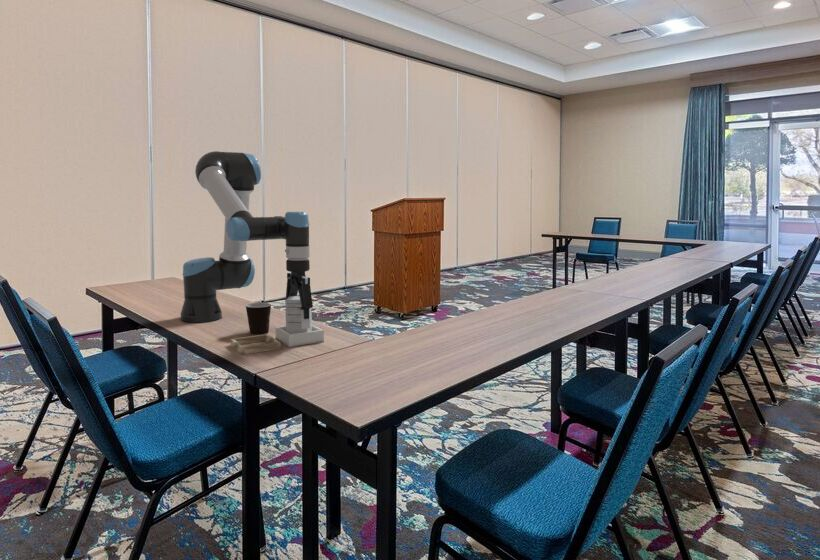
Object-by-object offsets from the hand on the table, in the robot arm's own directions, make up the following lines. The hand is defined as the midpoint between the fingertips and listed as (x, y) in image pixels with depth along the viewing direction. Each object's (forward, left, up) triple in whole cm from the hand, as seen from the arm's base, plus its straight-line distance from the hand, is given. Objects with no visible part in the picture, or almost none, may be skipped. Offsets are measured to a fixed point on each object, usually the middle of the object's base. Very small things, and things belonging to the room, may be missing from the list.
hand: (299, 324), depth 180 cm
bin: (0, 0, -5) cm, 5 cm away
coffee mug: (-18, -7, -5) cm, 20 cm away
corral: (0, -15, -5) cm, 16 cm away
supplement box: (0, 0, -3) cm, 3 cm away
